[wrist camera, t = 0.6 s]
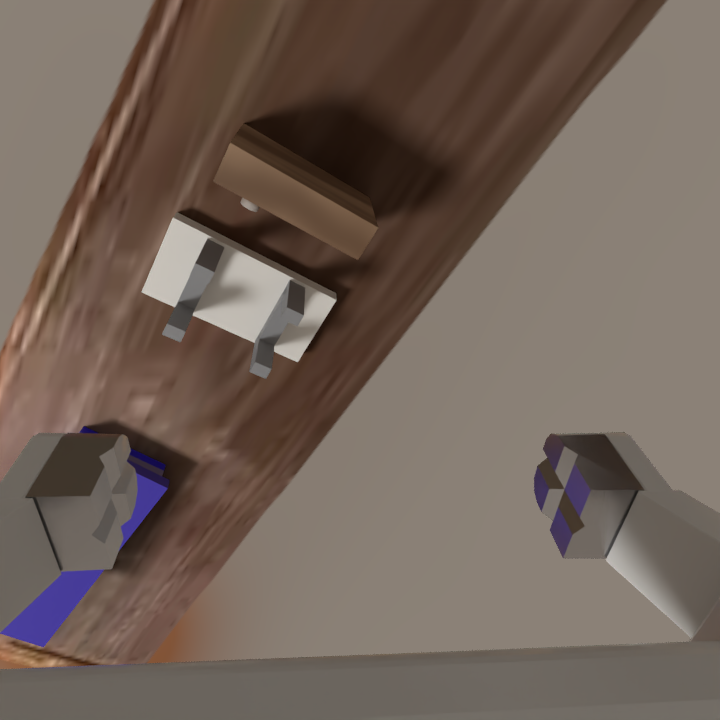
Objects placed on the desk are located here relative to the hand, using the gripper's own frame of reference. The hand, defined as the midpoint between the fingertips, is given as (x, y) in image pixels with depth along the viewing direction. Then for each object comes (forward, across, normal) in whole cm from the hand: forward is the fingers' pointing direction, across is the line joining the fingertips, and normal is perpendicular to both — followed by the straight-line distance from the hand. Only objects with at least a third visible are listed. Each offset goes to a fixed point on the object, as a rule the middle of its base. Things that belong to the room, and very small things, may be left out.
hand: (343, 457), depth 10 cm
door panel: (+39, +2, +4) cm, 40 cm away
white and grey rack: (+39, +7, +15) cm, 43 cm away
